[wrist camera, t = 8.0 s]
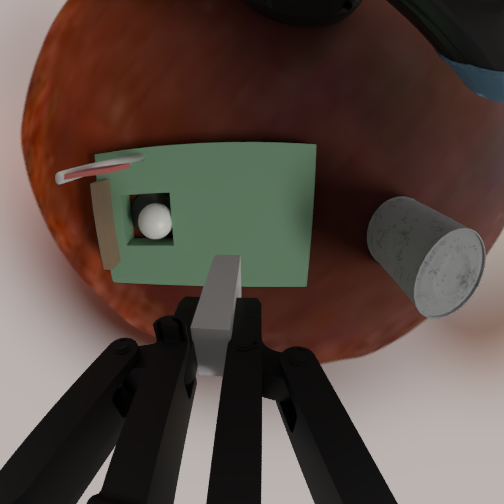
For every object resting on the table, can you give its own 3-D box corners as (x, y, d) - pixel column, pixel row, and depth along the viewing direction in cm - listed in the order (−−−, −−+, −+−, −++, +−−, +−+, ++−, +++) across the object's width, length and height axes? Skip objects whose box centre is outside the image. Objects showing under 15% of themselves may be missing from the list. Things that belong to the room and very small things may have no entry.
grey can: (384, 279, 34) (426, 334, 23) (353, 224, 32) (399, 270, 20) (435, 239, 32) (490, 281, 21) (411, 181, 29) (475, 207, 18)
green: (105, 152, 28) (5, 175, 13) (311, 144, 28) (372, 150, 13) (121, 273, 34) (57, 353, 19) (303, 276, 34) (333, 375, 19)
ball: (135, 209, 26) (173, 204, 28) (136, 202, 30) (170, 198, 31) (140, 246, 28) (176, 241, 29) (140, 236, 31) (172, 231, 32)
